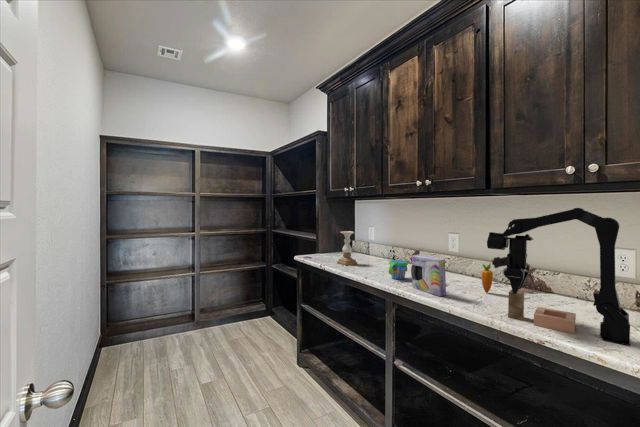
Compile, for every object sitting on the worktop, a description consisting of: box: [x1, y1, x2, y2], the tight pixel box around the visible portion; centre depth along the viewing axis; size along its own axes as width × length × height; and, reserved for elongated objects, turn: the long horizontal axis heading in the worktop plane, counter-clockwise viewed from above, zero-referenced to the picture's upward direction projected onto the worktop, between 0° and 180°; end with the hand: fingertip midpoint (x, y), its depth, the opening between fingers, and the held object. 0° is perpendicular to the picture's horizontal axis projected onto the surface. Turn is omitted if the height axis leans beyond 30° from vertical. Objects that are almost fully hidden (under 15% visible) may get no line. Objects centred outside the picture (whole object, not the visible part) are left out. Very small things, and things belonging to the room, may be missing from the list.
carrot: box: [481, 262, 494, 294], centre depth 154 cm, size 5×5×15 cm
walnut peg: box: [507, 289, 525, 321], centre depth 120 cm, size 4×4×10 cm
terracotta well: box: [533, 306, 577, 334], centre depth 113 cm, size 12×12×4 cm
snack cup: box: [388, 259, 409, 280], centre depth 183 cm, size 16×10×10 cm
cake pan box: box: [410, 254, 447, 297], centre depth 156 cm, size 19×5×18 cm, turn 27°
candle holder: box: [336, 230, 358, 267], centre depth 227 cm, size 11×11×24 cm
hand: (516, 291), depth 120 cm, fingers open, 9 cm apart
